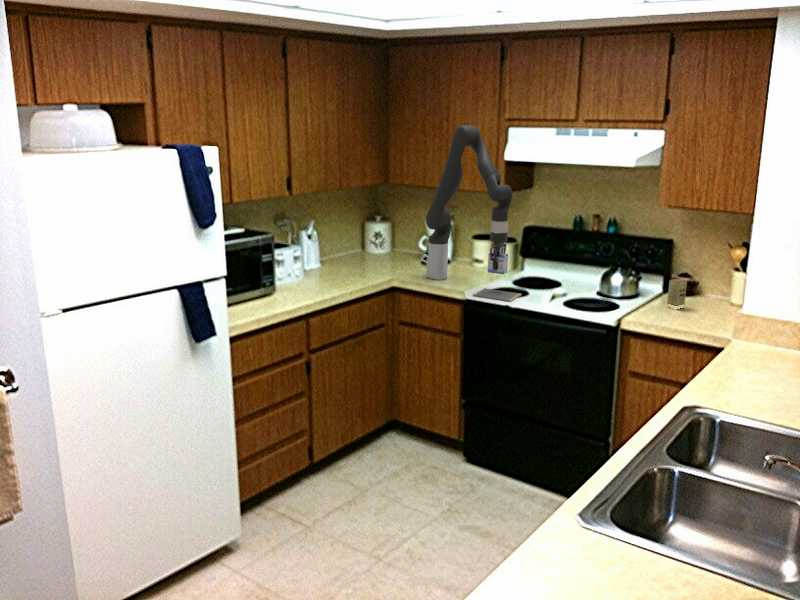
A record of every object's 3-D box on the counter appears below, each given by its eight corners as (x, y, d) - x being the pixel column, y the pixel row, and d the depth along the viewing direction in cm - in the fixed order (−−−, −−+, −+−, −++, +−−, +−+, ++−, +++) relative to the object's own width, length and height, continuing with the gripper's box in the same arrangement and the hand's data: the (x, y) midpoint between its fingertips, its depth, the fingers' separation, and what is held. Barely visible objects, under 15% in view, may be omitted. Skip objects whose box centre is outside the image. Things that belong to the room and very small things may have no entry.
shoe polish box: (666, 307, 320) (669, 279, 317) (674, 305, 323) (677, 278, 320) (676, 310, 317) (679, 282, 313) (683, 308, 319) (687, 280, 316)
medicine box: (487, 272, 337) (488, 253, 334) (490, 270, 340) (491, 251, 338) (504, 274, 333) (504, 255, 331) (507, 272, 337) (508, 253, 335)
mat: (472, 296, 334) (472, 294, 334) (484, 289, 345) (484, 288, 345) (510, 302, 325) (510, 300, 325) (521, 295, 336) (521, 293, 336)
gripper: (497, 227, 339) (495, 264, 344) (484, 232, 327) (483, 270, 332) (513, 229, 336) (511, 266, 341) (501, 234, 324) (499, 272, 329)
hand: (497, 268), depth 336 cm, fingers closed on medicine box, 4 cm apart
